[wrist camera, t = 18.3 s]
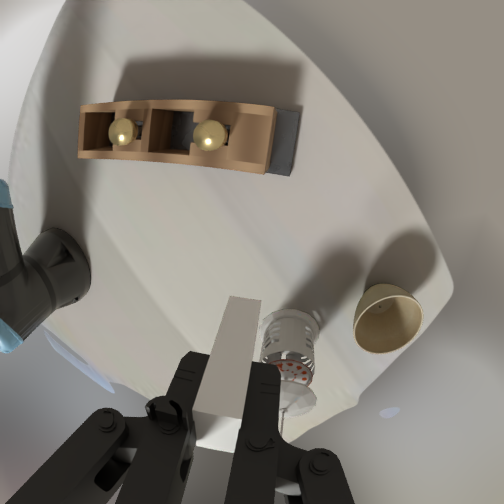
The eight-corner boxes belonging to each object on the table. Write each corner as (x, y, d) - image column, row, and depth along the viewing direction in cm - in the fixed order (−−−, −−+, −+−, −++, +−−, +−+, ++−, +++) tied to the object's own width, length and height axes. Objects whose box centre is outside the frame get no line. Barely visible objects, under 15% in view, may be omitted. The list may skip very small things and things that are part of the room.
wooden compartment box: (103, 152, 35) (77, 158, 29) (107, 106, 32) (80, 105, 26) (269, 168, 33) (264, 174, 27) (277, 112, 30) (274, 106, 24)
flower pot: (349, 268, 38) (359, 296, 31) (413, 268, 36) (431, 293, 29) (342, 325, 41) (348, 356, 35) (400, 323, 40) (412, 352, 33)
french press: (327, 314, 41) (339, 468, 18) (308, 365, 46) (303, 497, 23) (263, 303, 42) (230, 457, 19) (253, 356, 47) (223, 488, 24)
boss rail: (110, 156, 36) (68, 166, 27) (114, 104, 32) (71, 102, 24) (289, 175, 34) (288, 189, 25) (299, 113, 30) (301, 104, 22)
